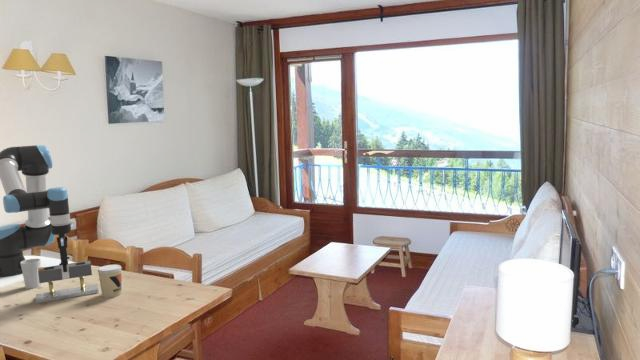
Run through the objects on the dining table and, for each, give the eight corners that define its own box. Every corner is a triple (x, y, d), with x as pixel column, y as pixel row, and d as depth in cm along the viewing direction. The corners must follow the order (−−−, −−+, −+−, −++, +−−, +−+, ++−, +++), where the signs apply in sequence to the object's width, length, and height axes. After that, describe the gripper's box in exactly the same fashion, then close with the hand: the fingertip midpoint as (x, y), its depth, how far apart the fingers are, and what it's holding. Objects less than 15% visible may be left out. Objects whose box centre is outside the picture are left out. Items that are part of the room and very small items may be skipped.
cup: (46, 283, 236) (44, 258, 234) (35, 289, 228) (33, 263, 227) (30, 283, 237) (28, 258, 235) (19, 289, 229) (16, 263, 227)
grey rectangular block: (39, 283, 211) (38, 270, 211) (40, 279, 217) (38, 266, 216) (91, 275, 220) (90, 262, 220) (91, 271, 226) (90, 259, 225)
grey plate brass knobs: (35, 303, 211) (33, 283, 210) (36, 297, 218) (34, 278, 217) (98, 292, 221) (96, 274, 220) (97, 287, 229) (95, 269, 227)
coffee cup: (115, 298, 213) (112, 271, 212) (95, 297, 215) (92, 270, 214) (128, 291, 222) (125, 264, 221) (108, 290, 224) (106, 263, 223)
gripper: (51, 221, 222) (56, 272, 225) (50, 229, 205) (56, 284, 208) (70, 219, 226) (75, 269, 229) (70, 227, 209) (76, 281, 212)
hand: (66, 276), depth 219 cm, fingers closed on grey rectangular block, 6 cm apart
